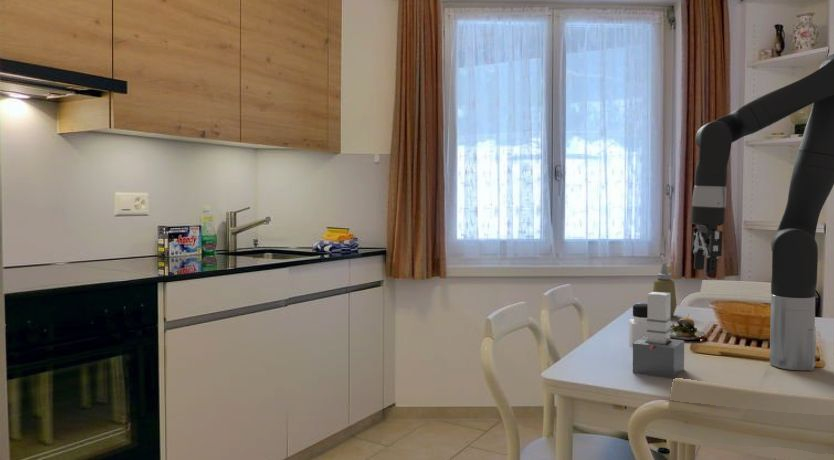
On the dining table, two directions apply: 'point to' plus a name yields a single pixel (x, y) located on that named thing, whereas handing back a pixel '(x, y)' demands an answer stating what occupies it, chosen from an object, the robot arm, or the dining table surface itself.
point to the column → (658, 318)
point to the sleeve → (658, 358)
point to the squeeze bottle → (666, 286)
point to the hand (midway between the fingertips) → (704, 271)
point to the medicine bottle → (638, 323)
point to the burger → (686, 330)
